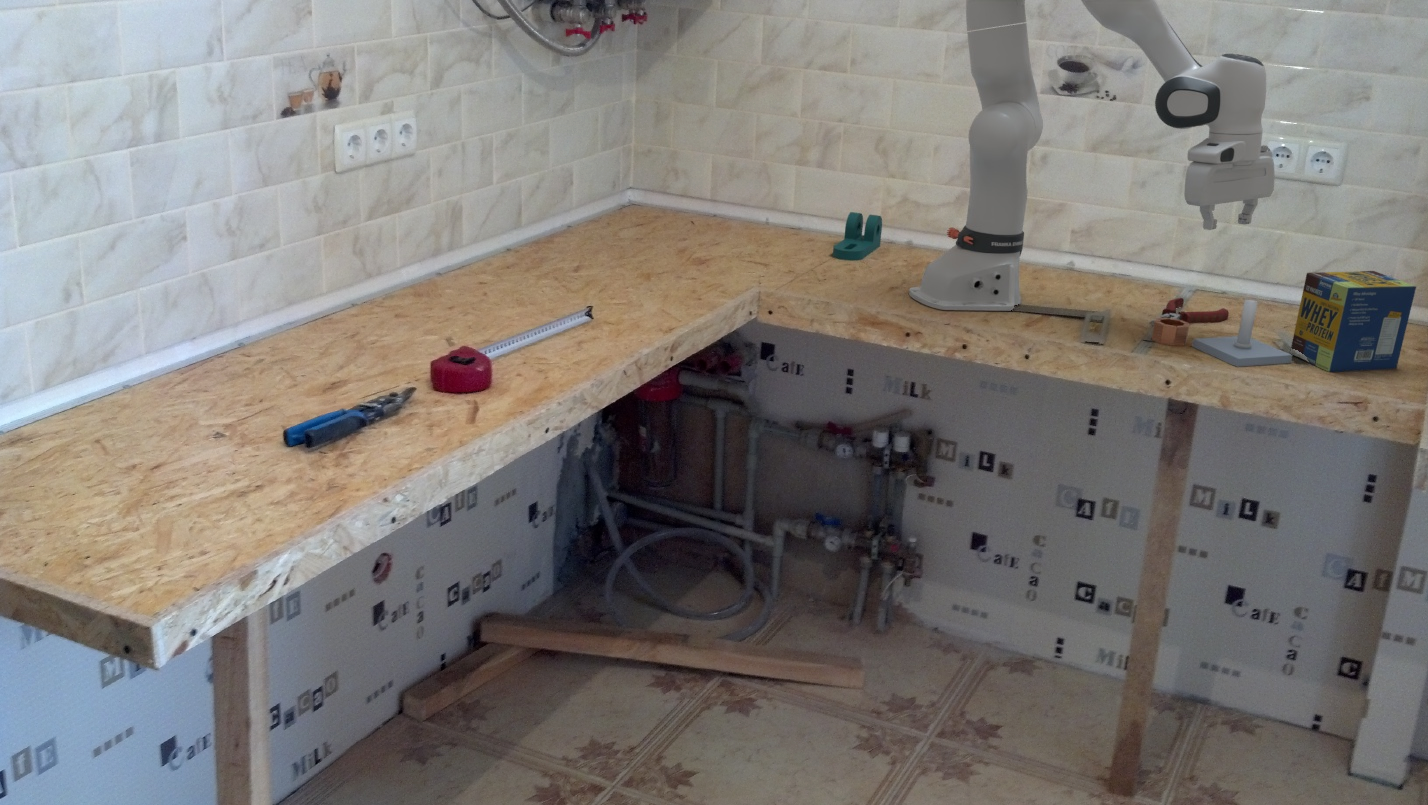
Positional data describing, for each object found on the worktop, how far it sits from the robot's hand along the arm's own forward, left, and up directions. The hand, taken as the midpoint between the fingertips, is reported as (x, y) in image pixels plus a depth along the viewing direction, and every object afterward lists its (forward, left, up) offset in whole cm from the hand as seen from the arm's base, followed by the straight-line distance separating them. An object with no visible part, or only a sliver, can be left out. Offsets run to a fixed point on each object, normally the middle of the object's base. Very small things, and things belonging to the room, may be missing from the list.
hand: (1227, 226), depth 245 cm
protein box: (+19, -15, -22) cm, 32 cm away
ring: (-6, +2, -22) cm, 23 cm away
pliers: (+6, +16, -23) cm, 28 cm away
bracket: (-35, +75, -22) cm, 86 cm away
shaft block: (+2, -8, -22) cm, 23 cm away
